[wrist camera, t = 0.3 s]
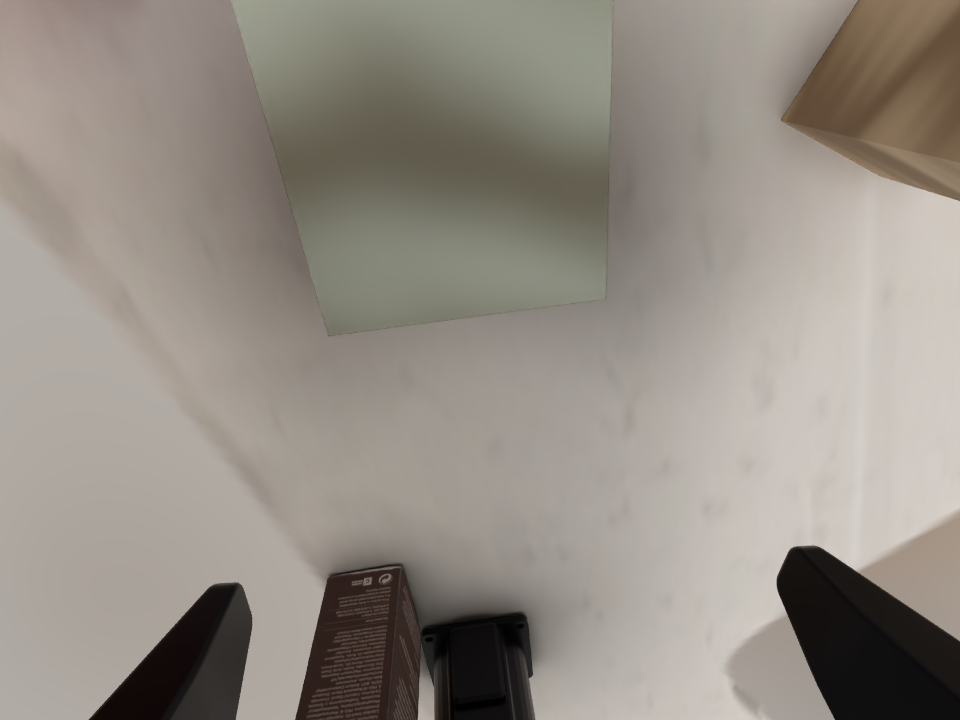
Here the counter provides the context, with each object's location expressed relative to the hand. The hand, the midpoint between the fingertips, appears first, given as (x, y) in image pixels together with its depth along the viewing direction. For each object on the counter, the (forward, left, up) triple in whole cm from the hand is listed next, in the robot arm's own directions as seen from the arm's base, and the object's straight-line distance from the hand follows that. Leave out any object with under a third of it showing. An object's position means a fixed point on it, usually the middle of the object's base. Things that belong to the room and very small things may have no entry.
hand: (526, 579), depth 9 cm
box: (-19, +8, -14) cm, 25 cm away
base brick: (+4, 0, -14) cm, 14 cm away
